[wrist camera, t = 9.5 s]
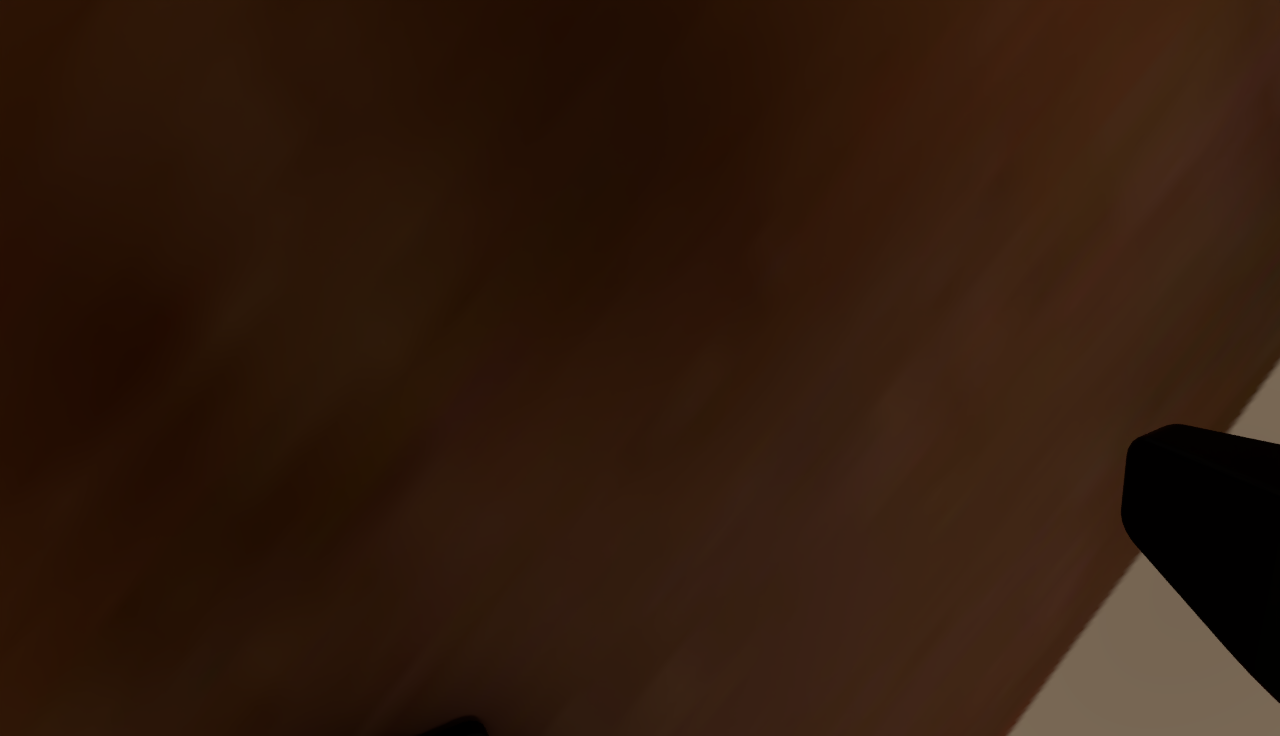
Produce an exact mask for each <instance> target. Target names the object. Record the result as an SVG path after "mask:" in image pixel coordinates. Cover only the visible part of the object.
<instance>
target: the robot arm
mask: <svg viewBox="0 0 1280 736" xmlns="http://www.w3.org/2000/svg"><path fill="white" fill-rule="evenodd" d="M1121 517H1122V522H1123V525H1124V528H1125V530H1126V532H1127V534H1128V535H1129V537H1130V539H1131V540H1132V541H1133V543H1134V544H1135V545H1136V546H1137V547H1138V548H1139V550H1140V551H1141V552H1142V553H1143V554H1144V555H1145V556H1146V557H1147V559H1148V560H1149V561H1150V562H1151V563H1152V564H1153V565H1154V566H1155V568H1156V569H1157V570H1158V571H1159V572H1160V573H1161V575H1162V576H1163V577H1164V578H1165V579H1166V580H1167V581H1168V583H1169V584H1170V585H1171V586H1172V587H1173V588H1174V589H1175V590H1176V592H1177V593H1178V594H1179V595H1180V596H1181V597H1182V598H1183V600H1184V601H1185V602H1186V603H1187V604H1188V605H1189V606H1190V607H1191V609H1192V610H1193V611H1194V612H1195V613H1196V614H1197V616H1198V617H1199V618H1200V619H1201V620H1202V621H1203V622H1204V623H1205V624H1206V626H1207V627H1208V628H1209V629H1210V630H1211V631H1212V633H1213V634H1214V635H1215V636H1216V637H1217V638H1218V639H1219V641H1220V642H1221V643H1222V644H1223V645H1224V646H1225V647H1226V649H1227V650H1228V651H1229V652H1230V653H1231V654H1232V655H1233V656H1234V657H1235V658H1236V660H1237V661H1238V662H1239V663H1240V664H1241V665H1242V666H1243V667H1244V668H1245V669H1246V670H1247V671H1248V673H1250V675H1251V676H1252V677H1253V678H1254V679H1255V680H1256V681H1257V682H1258V683H1259V684H1260V685H1261V686H1262V687H1263V688H1264V689H1265V690H1266V691H1267V692H1268V693H1270V695H1271V696H1272V697H1274V698H1275V699H1276V700H1277V701H1278V702H1279V703H1280V444H1275V443H1270V442H1266V441H1261V440H1256V439H1251V438H1246V437H1241V436H1236V435H1232V434H1227V433H1222V432H1217V431H1212V430H1208V429H1203V428H1198V427H1193V426H1188V425H1183V424H1171V425H1166V426H1164V427H1161V428H1159V429H1157V430H1154V431H1152V432H1150V433H1148V434H1145V435H1143V436H1141V437H1138V438H1137V439H1135V440H1134V441H1133V442H1132V443H1131V445H1130V446H1129V448H1128V451H1127V456H1126V466H1125V476H1124V485H1123V495H1122V505H1121ZM433 736H489V735H488V732H487V730H486V728H485V727H484V725H483V724H481V723H479V722H477V721H468V722H464V723H461V724H458V725H456V726H454V727H451V728H449V729H447V730H444V731H442V732H440V733H437V734H435V735H433Z"/></svg>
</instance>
